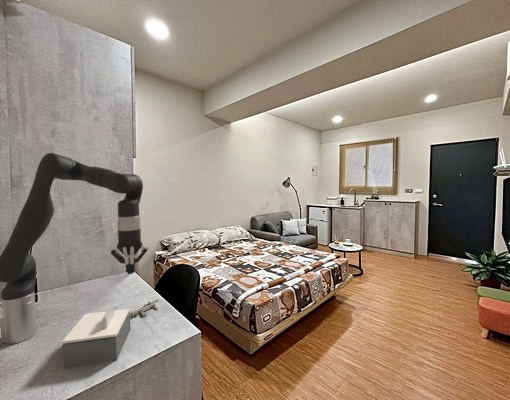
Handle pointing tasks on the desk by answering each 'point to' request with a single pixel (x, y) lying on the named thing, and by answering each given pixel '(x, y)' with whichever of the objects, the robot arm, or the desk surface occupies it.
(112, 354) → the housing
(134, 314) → the clamp
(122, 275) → the desk surface
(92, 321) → the lid
